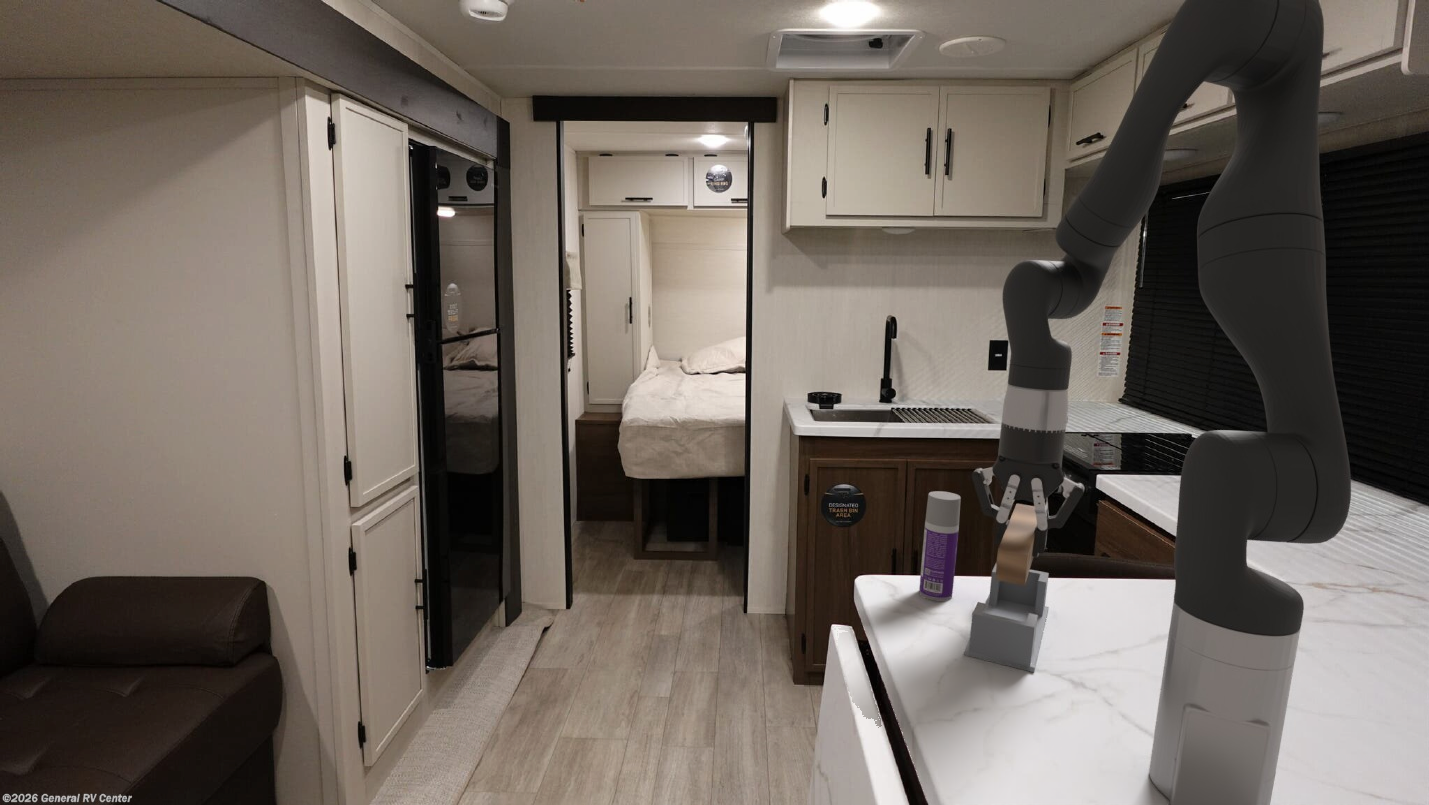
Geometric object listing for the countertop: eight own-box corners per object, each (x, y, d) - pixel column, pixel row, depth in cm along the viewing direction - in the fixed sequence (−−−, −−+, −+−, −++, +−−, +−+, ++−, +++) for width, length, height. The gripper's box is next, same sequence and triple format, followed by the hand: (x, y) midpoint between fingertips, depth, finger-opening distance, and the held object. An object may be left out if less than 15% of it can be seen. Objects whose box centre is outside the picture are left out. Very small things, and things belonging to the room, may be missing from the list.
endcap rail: (1034, 672, 90) (1039, 628, 89) (964, 655, 93) (968, 612, 93) (1048, 611, 107) (1052, 573, 106) (988, 598, 111) (992, 562, 110)
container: (959, 599, 110) (968, 498, 108) (932, 603, 108) (941, 501, 106) (938, 586, 115) (947, 490, 112) (912, 590, 113) (920, 492, 110)
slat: (1024, 585, 92) (1027, 555, 91) (995, 579, 94) (997, 549, 92) (1040, 534, 105) (1042, 507, 104) (1014, 529, 107) (1016, 503, 106)
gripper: (969, 419, 96) (957, 550, 99) (1094, 434, 89) (1077, 573, 92) (980, 411, 102) (968, 533, 105) (1097, 424, 96) (1080, 554, 99)
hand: (1019, 551), depth 99 cm, fingers closed on slat, 3 cm apart
